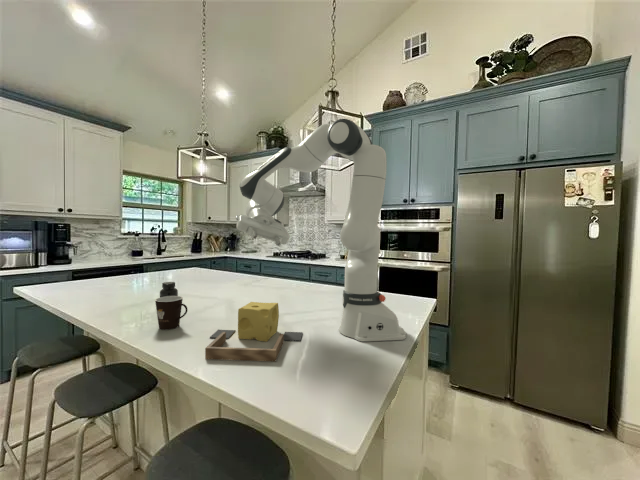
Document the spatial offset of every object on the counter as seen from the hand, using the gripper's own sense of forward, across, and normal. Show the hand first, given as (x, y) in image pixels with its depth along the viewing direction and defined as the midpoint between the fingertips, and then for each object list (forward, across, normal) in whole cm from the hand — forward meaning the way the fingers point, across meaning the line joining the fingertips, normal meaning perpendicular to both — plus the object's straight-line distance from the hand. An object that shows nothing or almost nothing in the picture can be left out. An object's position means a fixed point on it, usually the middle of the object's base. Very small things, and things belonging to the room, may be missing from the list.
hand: (267, 240), depth 103 cm
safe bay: (+30, -3, +21) cm, 37 cm away
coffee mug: (+5, -19, +41) cm, 45 cm away
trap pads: (+21, +4, +24) cm, 32 cm away
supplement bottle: (-15, -18, +52) cm, 57 cm away
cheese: (+20, +4, +25) cm, 32 cm away
